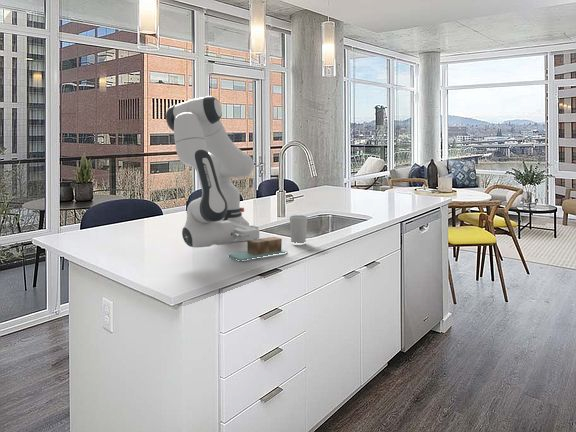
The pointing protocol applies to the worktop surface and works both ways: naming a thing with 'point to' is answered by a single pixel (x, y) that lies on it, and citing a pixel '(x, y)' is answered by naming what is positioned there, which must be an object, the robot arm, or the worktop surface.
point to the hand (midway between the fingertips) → (256, 228)
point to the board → (246, 255)
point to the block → (264, 245)
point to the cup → (298, 228)
